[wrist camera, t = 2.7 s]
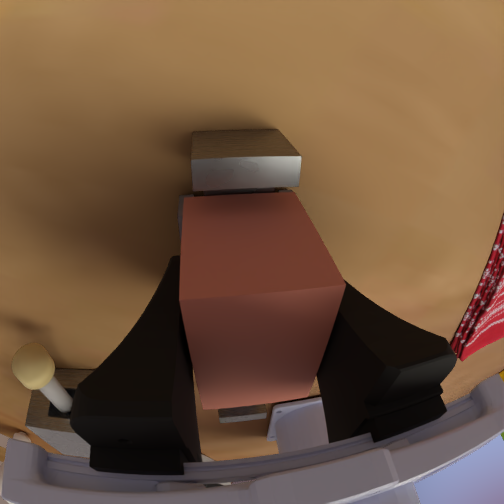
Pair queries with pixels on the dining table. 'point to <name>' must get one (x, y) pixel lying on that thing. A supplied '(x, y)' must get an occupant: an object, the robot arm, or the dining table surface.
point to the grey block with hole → (58, 416)
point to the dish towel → (484, 306)
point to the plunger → (40, 375)
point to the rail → (243, 186)
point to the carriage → (254, 296)
